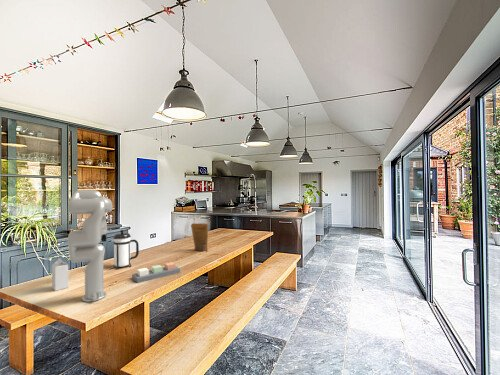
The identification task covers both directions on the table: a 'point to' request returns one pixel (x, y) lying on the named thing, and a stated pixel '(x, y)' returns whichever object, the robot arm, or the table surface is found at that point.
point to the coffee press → (123, 249)
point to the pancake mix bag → (200, 236)
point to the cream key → (142, 272)
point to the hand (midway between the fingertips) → (100, 242)
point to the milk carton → (59, 275)
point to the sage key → (156, 269)
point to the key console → (155, 274)
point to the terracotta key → (169, 266)
